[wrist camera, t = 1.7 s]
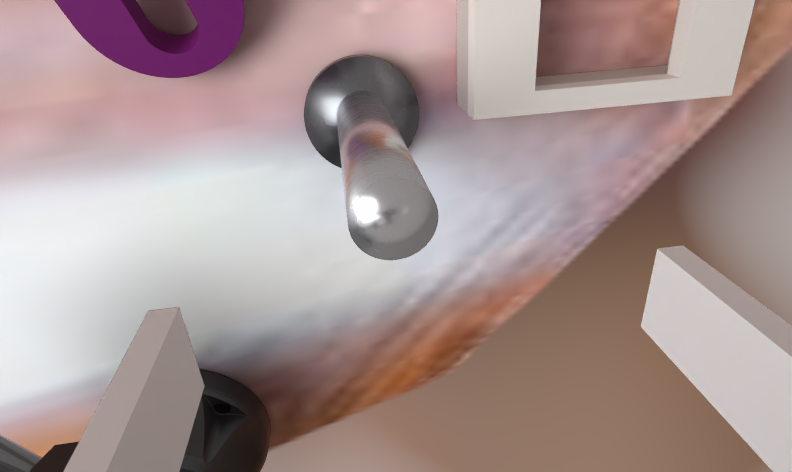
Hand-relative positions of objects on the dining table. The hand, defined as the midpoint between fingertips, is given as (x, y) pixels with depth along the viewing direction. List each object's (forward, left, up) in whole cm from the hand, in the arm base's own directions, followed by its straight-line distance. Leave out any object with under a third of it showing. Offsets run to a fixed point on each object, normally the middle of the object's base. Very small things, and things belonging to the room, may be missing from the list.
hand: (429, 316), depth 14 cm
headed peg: (0, 0, -25) cm, 25 cm away
